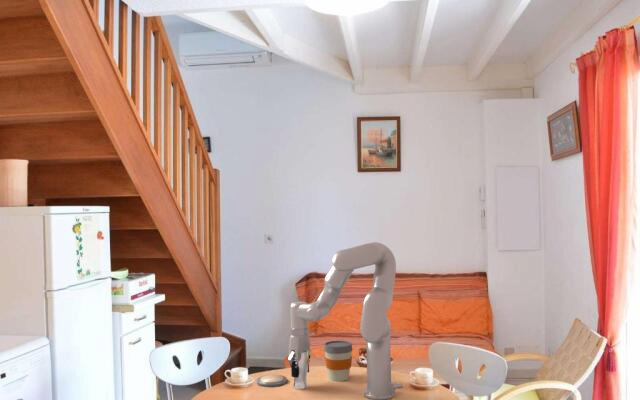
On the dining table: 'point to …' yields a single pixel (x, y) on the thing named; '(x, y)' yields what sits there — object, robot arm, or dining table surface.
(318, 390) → the dining table surface
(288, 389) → the dining table surface
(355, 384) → the dining table surface
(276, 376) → the coaster plate
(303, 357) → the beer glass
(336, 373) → the reusable coffee cup
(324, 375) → the dining table surface
